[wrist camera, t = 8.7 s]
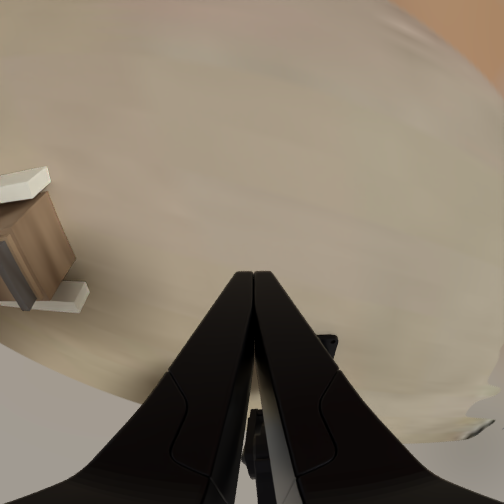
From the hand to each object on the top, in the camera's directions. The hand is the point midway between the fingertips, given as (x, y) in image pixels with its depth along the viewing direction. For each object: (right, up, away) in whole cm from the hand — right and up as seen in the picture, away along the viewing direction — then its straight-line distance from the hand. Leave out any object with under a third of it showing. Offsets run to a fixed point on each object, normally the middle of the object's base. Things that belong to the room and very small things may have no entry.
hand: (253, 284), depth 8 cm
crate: (-19, +2, +13) cm, 23 cm away
